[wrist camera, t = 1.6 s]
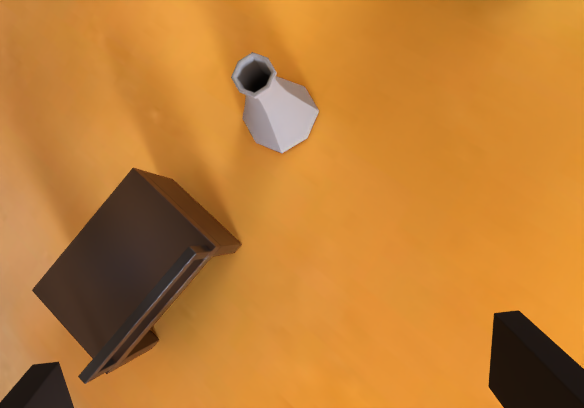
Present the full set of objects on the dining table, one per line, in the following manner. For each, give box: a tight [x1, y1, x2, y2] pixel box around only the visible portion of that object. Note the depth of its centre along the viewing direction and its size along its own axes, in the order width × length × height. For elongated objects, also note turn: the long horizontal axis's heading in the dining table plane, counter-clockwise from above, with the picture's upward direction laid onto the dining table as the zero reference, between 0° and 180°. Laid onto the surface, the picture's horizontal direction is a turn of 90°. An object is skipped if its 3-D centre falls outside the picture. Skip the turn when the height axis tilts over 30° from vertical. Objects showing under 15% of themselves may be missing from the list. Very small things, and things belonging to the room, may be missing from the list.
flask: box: [231, 52, 319, 153], centre depth 33 cm, size 7×7×10 cm
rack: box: [32, 168, 242, 384], centre depth 34 cm, size 14×10×10 cm
